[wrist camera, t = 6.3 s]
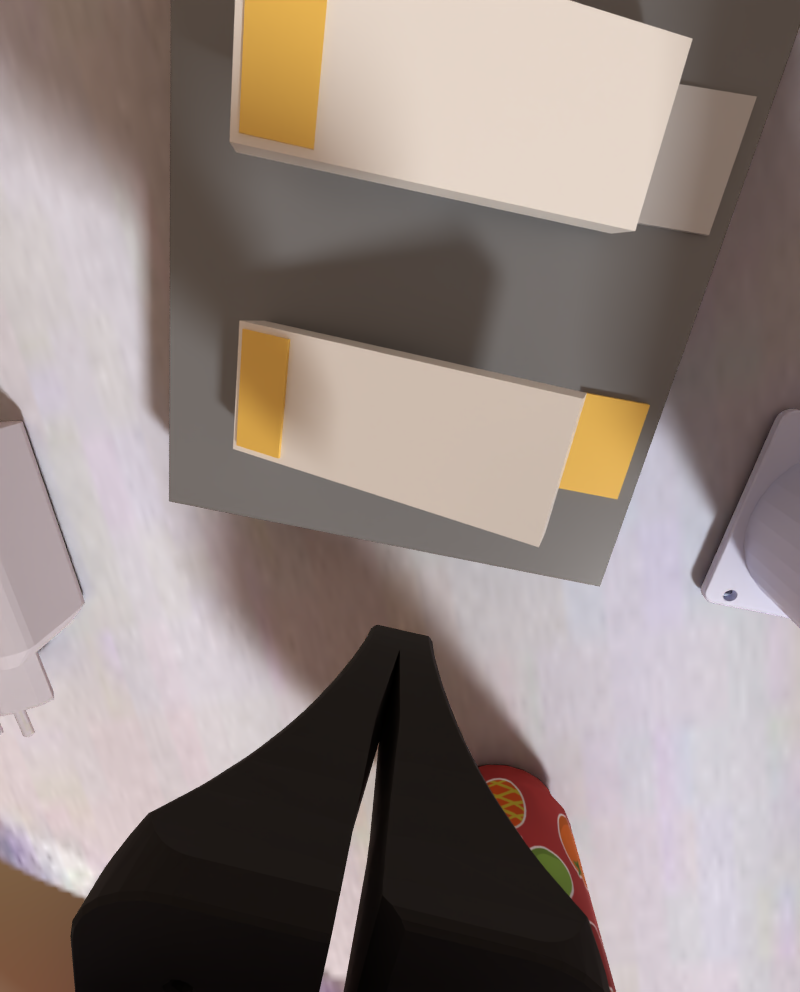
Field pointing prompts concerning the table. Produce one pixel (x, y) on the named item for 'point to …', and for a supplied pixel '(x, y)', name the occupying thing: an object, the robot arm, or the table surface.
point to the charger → (29, 578)
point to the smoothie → (545, 835)
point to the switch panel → (454, 286)
